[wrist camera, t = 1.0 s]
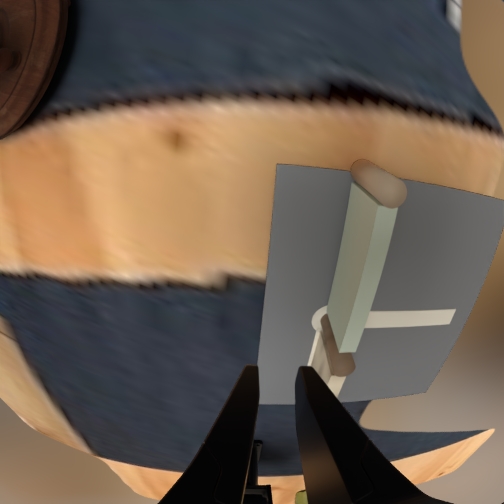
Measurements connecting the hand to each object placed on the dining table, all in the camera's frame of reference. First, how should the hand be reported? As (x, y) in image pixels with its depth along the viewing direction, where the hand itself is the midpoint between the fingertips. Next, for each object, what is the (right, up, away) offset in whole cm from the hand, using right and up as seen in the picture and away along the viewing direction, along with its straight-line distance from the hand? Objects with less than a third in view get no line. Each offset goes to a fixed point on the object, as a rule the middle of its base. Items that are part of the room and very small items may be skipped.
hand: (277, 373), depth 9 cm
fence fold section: (+6, +5, +12) cm, 14 cm away
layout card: (+10, -2, +16) cm, 19 cm away
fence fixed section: (+5, -6, +18) cm, 20 cm away
